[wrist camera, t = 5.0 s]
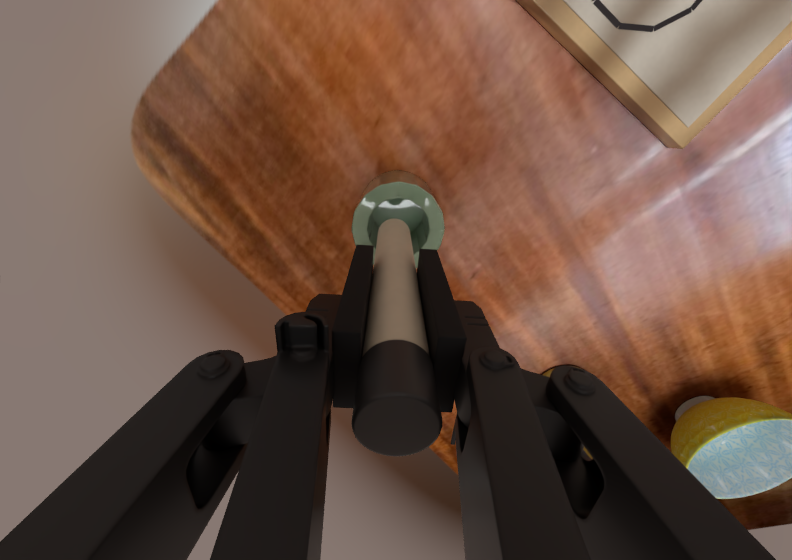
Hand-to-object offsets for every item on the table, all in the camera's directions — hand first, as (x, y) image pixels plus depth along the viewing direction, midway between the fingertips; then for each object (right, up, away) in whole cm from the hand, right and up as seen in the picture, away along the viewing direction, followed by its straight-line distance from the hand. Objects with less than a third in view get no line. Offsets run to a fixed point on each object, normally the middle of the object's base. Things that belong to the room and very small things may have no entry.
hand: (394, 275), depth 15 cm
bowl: (+33, -15, +21) cm, 42 cm away
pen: (0, +3, +6) cm, 6 cm away
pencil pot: (0, +5, +11) cm, 13 cm away
